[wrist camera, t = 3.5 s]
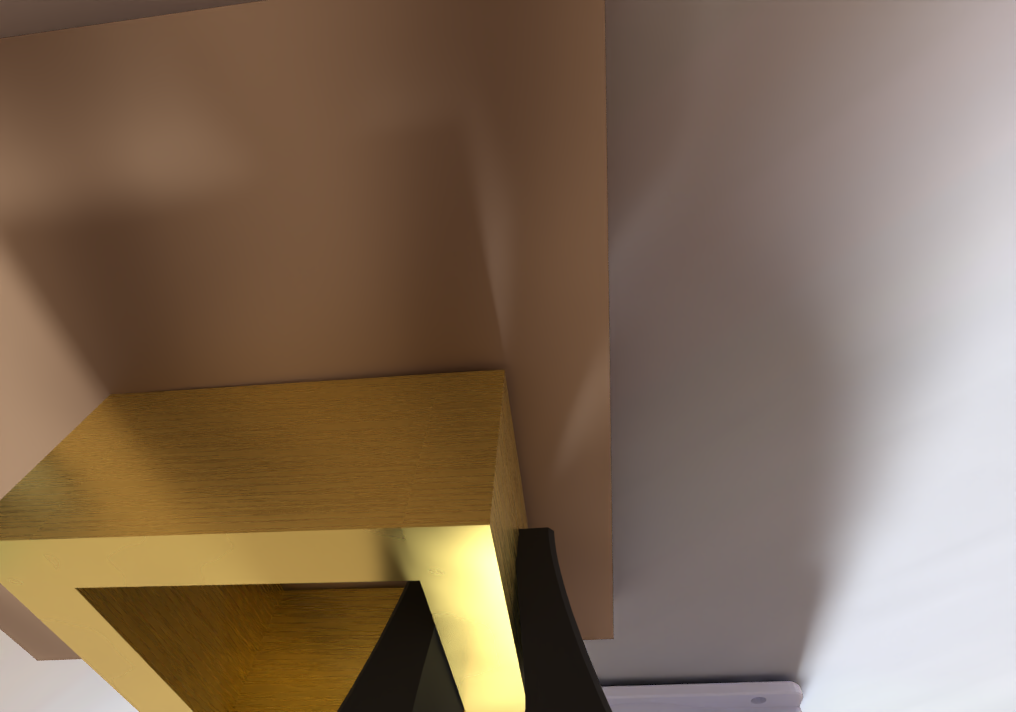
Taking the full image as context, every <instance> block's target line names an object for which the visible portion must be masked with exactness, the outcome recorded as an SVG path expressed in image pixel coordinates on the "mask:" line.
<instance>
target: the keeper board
mask: <svg viewBox="0 0 1016 712" xmlns="http://www.w3.org/2000/svg"><path fill="white" fill-rule="evenodd" d="M504 369H505V374H506V381H507V388H508V395H509V401H510V408H511V415H512V422H513V429H514V435H515V442H516V449H517V456H518V462H519V469H520V476H521V483H522V489H523V496H524V503H525V510H526V516H527V523H528V528H544V527H549V528H550V529H552V530H553V531H554V536H555V545H556V552H557V557H558V562H559V567H560V571H561V575H562V578H563V582H564V586H565V589H566V593H567V596H568V599H569V602H570V606H571V609H572V612H573V614H574V617H575V620H576V623H577V626H578V628H579V631H580V634H581V637H582V640H596V639H614V637H613V564H612V491H611V418H610V346H609V273H608V200H607V128H606V55H605V0H264V1H257V2H250V3H243V4H236V5H229V6H222V7H215V8H208V9H201V10H194V11H187V12H180V13H173V14H166V15H159V16H152V17H145V18H138V19H131V20H124V21H117V22H110V23H103V24H97V25H90V26H83V27H76V28H69V29H62V30H55V31H48V32H41V33H34V34H27V35H20V36H13V37H6V38H0V500H1V499H2V498H3V497H4V496H5V495H6V494H7V493H8V492H9V491H10V490H11V489H12V488H13V487H14V486H15V485H16V484H17V483H19V482H20V481H21V480H22V479H23V478H24V477H25V476H26V475H27V474H28V473H29V472H30V471H31V470H32V469H33V468H34V467H35V466H36V465H37V464H38V463H39V462H40V461H41V460H42V459H44V458H45V457H46V456H47V455H48V454H49V453H50V452H51V451H52V450H53V449H54V448H55V447H56V446H57V445H58V444H59V443H60V442H61V441H62V440H63V439H64V438H65V437H66V436H67V435H68V434H70V433H71V432H72V431H73V430H74V429H75V428H76V427H77V426H78V425H79V424H80V423H81V422H82V421H83V420H84V419H85V418H86V417H87V416H88V415H89V414H90V413H91V412H92V411H93V410H95V409H96V408H97V407H98V406H99V405H100V404H101V403H102V402H103V401H104V400H105V399H106V398H107V397H108V396H109V395H112V394H128V393H144V392H159V391H175V390H191V389H206V388H222V387H238V386H253V385H269V384H285V383H300V382H316V381H332V380H347V379H363V378H379V377H394V376H410V375H426V374H441V373H457V372H473V371H488V370H504ZM406 583H407V581H372V582H326V583H280V585H281V587H282V588H283V590H320V589H369V588H405V585H406ZM0 629H1V630H2V631H3V632H4V633H6V634H7V635H8V636H9V637H10V638H12V639H13V640H14V641H15V642H16V643H17V644H19V645H20V646H21V647H22V648H23V649H24V650H26V651H27V652H28V653H29V654H30V655H32V656H33V657H34V658H35V659H36V660H37V661H39V660H66V659H82V658H81V657H80V656H78V655H77V654H76V653H75V652H74V651H73V650H72V649H71V648H70V647H69V646H68V645H67V644H65V643H64V642H63V641H62V640H61V639H60V638H59V637H58V636H57V635H56V634H55V633H54V632H53V631H51V630H50V629H49V628H48V627H47V626H46V625H45V624H44V623H43V622H42V621H41V620H40V619H38V618H37V617H36V616H35V615H34V614H33V613H32V612H31V611H30V610H29V609H28V608H27V607H26V606H24V605H23V604H22V603H21V602H20V601H19V600H18V599H17V598H16V597H15V596H14V595H13V594H11V593H10V592H9V591H8V590H7V589H6V588H5V587H4V586H3V585H2V584H1V583H0Z"/></svg>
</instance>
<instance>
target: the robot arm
mask: <svg viewBox="0 0 1016 712" xmlns="http://www.w3.org/2000/svg"><path fill="white" fill-rule="evenodd" d="M516 573H517V586H518V600H519V613H520V626H521V639H522V652H523V665H524V681H525V712H802V711H801V708H800V704H801V702H802V699H803V694H802V691H801V689H800V686H799V685H798V684H797V683H795V682H792V681H771V682H738V683H706V684H673V685H640V686H607V687H601V685H600V682H599V680H598V677H597V675H596V673H595V670H594V668H593V665H592V663H591V661H590V658H589V655H588V653H587V650H586V648H585V645H584V643H583V640H582V637H581V634H580V631H579V628H578V626H577V623H576V620H575V617H574V614H573V612H572V609H571V606H570V602H569V599H568V596H567V593H566V589H565V586H564V582H563V578H562V575H561V571H560V567H559V562H558V557H557V552H556V545H555V536H554V531H553V530H552V529H550V528H549V527H544V528H526V529H519V537H518V546H517V557H516ZM337 712H464V706H463V703H462V700H461V697H460V694H459V691H458V688H457V685H456V683H455V680H454V677H453V674H452V671H451V668H450V665H449V662H448V660H447V657H446V654H445V651H444V648H443V645H442V642H441V640H440V637H439V634H438V631H437V628H436V625H435V622H434V619H433V617H432V614H431V611H430V608H429V605H428V602H427V599H426V597H425V594H424V591H423V588H422V585H421V582H420V580H418V581H407V583H406V585H405V588H404V590H403V592H402V594H401V596H400V598H399V600H398V602H397V604H396V606H395V608H394V610H393V612H392V614H391V616H390V618H389V620H388V622H387V624H386V626H385V628H384V630H383V632H382V634H381V636H380V638H379V640H378V641H377V643H376V645H375V647H374V649H373V651H372V652H371V654H370V656H369V658H368V659H367V661H366V663H365V665H364V666H363V668H362V670H361V672H360V673H359V675H358V677H357V679H356V680H355V682H354V684H353V686H352V687H351V689H350V691H349V693H348V694H347V696H346V697H345V699H344V701H343V702H342V704H341V706H340V707H339V709H338V711H337Z"/></svg>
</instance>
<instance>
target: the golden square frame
mask: <svg viewBox="0 0 1016 712" xmlns="http://www.w3.org/2000/svg"><path fill="white" fill-rule="evenodd" d="M526 528H528V523H527V516H526V510H525V503H524V496H523V489H522V483H521V476H520V469H519V462H518V456H517V449H516V442H515V435H514V429H513V422H512V415H511V408H510V401H509V395H508V388H507V381H506V374H505V369H504V370H488V371H473V372H457V373H441V374H426V375H410V376H394V377H379V378H363V379H347V380H332V381H316V382H300V383H285V384H269V385H253V386H238V387H222V388H206V389H191V390H175V391H159V392H144V393H128V394H112V395H109V396H108V397H107V398H106V399H105V400H104V401H103V402H102V403H101V404H100V405H99V406H98V407H97V408H96V409H95V410H93V411H92V412H91V413H90V414H89V415H88V416H87V417H86V418H85V419H84V420H83V421H82V422H81V423H80V424H79V425H78V426H77V427H76V428H75V429H74V430H73V431H72V432H71V433H70V434H68V435H67V436H66V437H65V438H64V439H63V440H62V441H61V442H60V443H59V444H58V445H57V446H56V447H55V448H54V449H53V450H52V451H51V452H50V453H49V454H48V455H47V456H46V457H45V458H44V459H42V460H41V461H40V462H39V463H38V464H37V465H36V466H35V467H34V468H33V469H32V470H31V471H30V472H29V473H28V474H27V475H26V476H25V477H24V478H23V479H22V480H21V481H20V482H19V483H17V484H16V485H15V486H14V487H13V488H12V489H11V490H10V491H9V492H8V493H7V494H6V495H5V496H4V497H3V498H2V499H1V500H0V583H1V584H2V585H3V586H4V587H5V588H6V589H7V590H8V591H9V592H10V593H11V594H13V595H14V596H15V597H16V598H17V599H18V600H19V601H20V602H21V603H22V604H23V605H24V606H26V607H27V608H28V609H29V610H30V611H31V612H32V613H33V614H34V615H35V616H36V617H37V618H38V619H40V620H41V621H42V622H43V623H44V624H45V625H46V626H47V627H48V628H49V629H50V630H51V631H53V632H54V633H55V634H56V635H57V636H58V637H59V638H60V639H61V640H62V641H63V642H64V643H65V644H67V645H68V646H69V647H70V648H71V649H72V650H73V651H74V652H75V653H76V654H77V655H78V656H80V657H81V658H82V659H83V660H84V661H85V662H86V663H87V664H88V665H89V666H90V667H91V668H93V669H94V670H95V671H96V672H97V673H98V674H99V675H100V676H101V677H102V678H103V679H104V680H105V681H107V682H108V683H109V684H110V685H111V686H112V687H113V688H114V689H115V690H116V691H117V692H118V693H120V694H121V695H122V696H123V697H124V698H125V699H126V700H127V701H128V702H129V703H130V704H131V705H132V706H134V707H135V708H136V709H137V710H138V711H139V712H337V711H338V709H339V707H340V706H341V704H342V702H343V701H344V699H345V697H346V696H347V694H348V693H349V691H350V689H351V687H352V686H353V684H354V682H355V680H356V679H357V677H358V675H359V673H360V672H361V670H362V668H363V666H364V665H365V663H366V661H367V659H368V658H369V656H370V654H371V652H372V651H373V649H374V647H375V645H376V643H377V641H378V640H379V638H380V636H381V634H382V632H383V630H384V628H385V626H386V624H387V622H388V620H389V618H390V616H391V614H392V612H393V610H394V608H395V606H396V604H397V602H398V600H399V598H400V596H401V594H402V592H403V590H404V588H369V589H320V590H283V588H282V587H281V585H280V583H326V582H372V581H418V580H420V582H421V585H422V588H423V591H424V594H425V597H426V599H427V602H428V605H429V608H430V611H431V614H432V617H433V619H434V622H435V625H436V628H437V631H438V634H439V637H440V640H441V642H442V645H443V648H444V651H445V654H446V657H447V660H448V662H449V665H450V668H451V671H452V674H453V677H454V680H455V683H456V685H457V688H458V691H459V694H460V697H461V700H462V703H463V706H464V712H525V681H524V665H523V652H522V639H521V626H520V613H519V600H518V586H517V573H516V557H517V546H518V537H519V529H526Z"/></svg>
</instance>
